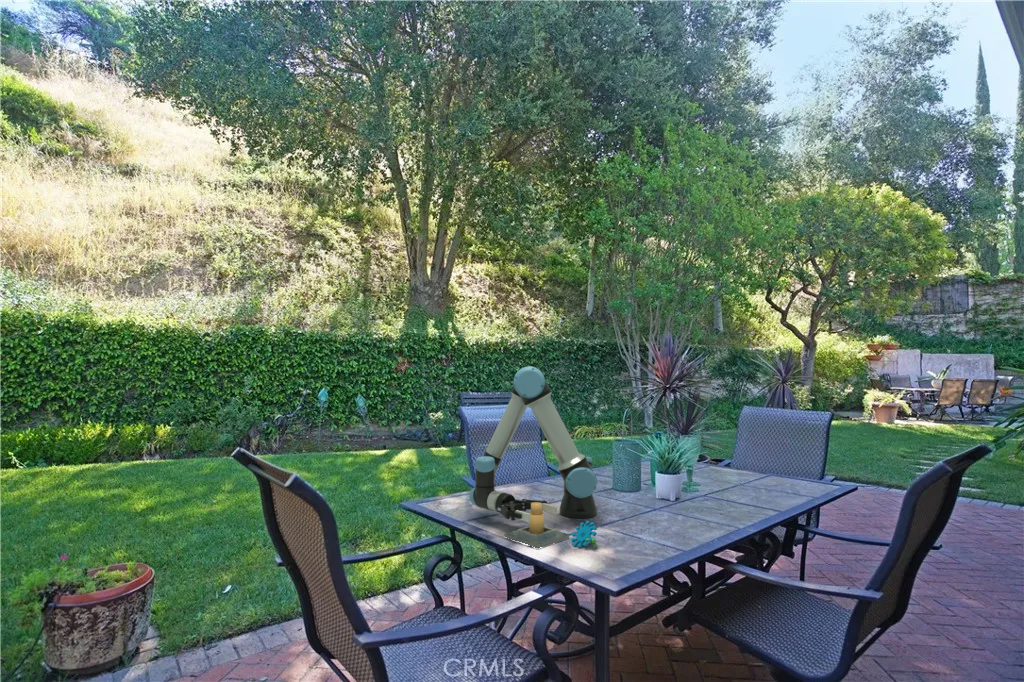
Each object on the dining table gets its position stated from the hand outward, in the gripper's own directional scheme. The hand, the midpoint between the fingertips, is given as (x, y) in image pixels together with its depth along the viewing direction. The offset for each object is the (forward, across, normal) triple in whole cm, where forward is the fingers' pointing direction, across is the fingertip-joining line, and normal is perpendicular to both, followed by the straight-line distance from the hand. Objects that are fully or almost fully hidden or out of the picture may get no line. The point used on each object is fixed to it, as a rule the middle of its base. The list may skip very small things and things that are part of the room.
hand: (543, 514), depth 187 cm
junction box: (-3, 0, -9) cm, 10 cm away
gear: (+13, -6, -9) cm, 17 cm away
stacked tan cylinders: (-3, 0, -8) cm, 8 cm away
